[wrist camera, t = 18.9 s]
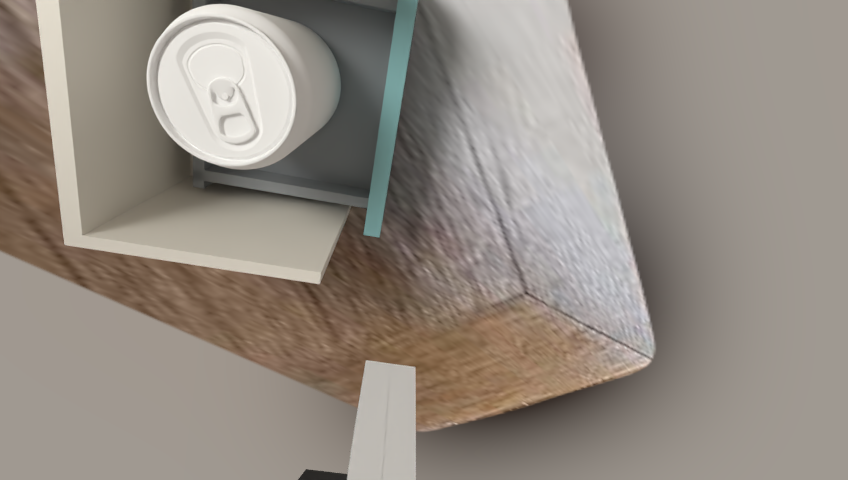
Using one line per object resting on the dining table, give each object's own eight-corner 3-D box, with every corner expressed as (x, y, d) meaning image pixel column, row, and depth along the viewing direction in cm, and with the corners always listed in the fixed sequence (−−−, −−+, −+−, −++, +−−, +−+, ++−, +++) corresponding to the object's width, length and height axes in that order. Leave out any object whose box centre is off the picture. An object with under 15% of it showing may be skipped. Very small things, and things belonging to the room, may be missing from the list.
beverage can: (326, 8, 31) (278, -16, 20) (353, 126, 35) (325, 161, 23) (213, 31, 32) (106, 19, 21) (250, 145, 35) (174, 188, 24)
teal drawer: (210, 187, 37) (184, 205, 33) (213, -64, 30) (181, -83, 26) (383, 217, 38) (379, 237, 34) (421, -19, 32) (422, -31, 27)
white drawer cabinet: (183, 179, 38) (64, 244, 25) (180, -71, 31) (17, -159, 18) (351, 208, 39) (319, 284, 26) (382, -28, 33) (361, -82, 20)
